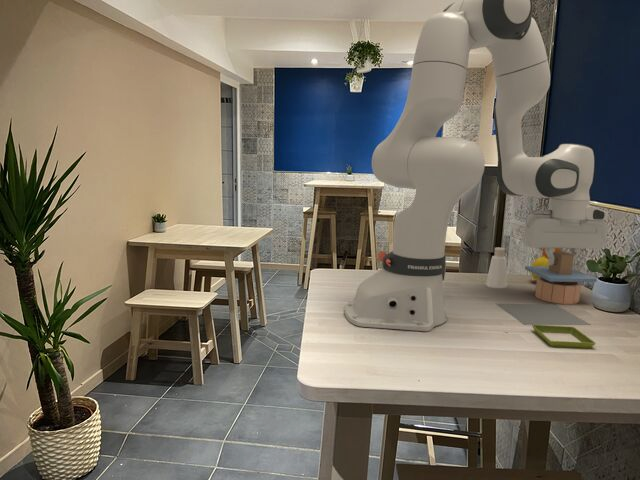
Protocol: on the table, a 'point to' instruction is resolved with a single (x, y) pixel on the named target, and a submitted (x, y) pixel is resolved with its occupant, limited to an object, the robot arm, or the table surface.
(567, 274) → the lid
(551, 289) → the bowl
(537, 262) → the lemon
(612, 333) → the table surface
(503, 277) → the salt shaker
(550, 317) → the mat
